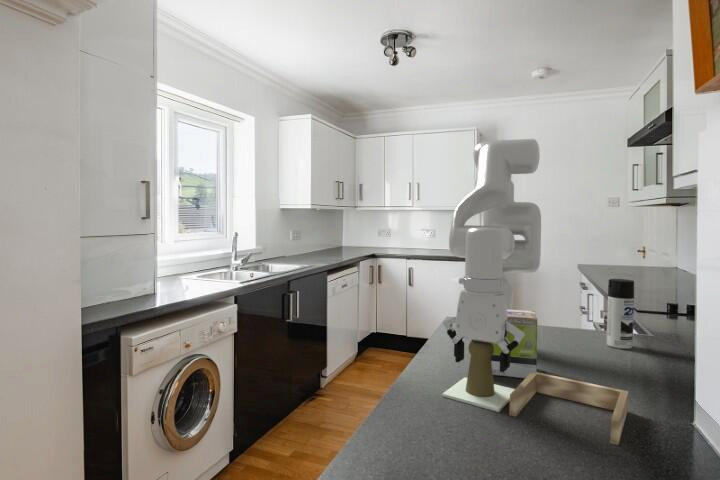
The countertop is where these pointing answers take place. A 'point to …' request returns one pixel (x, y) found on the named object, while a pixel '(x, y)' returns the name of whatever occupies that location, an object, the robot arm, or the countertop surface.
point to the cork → (480, 369)
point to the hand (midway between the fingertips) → (481, 365)
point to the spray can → (620, 313)
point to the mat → (489, 403)
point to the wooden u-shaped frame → (573, 397)
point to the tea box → (519, 346)
